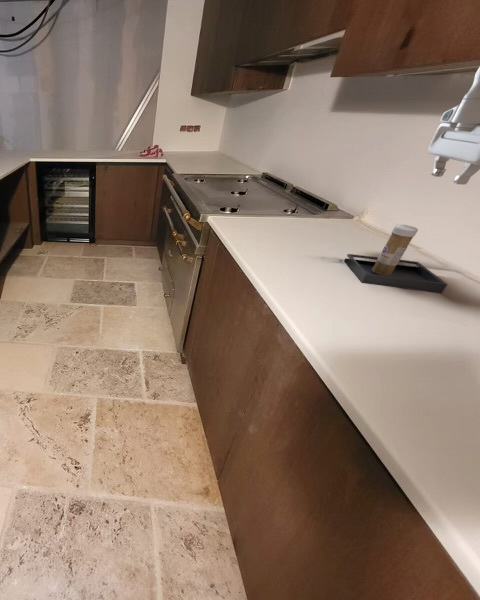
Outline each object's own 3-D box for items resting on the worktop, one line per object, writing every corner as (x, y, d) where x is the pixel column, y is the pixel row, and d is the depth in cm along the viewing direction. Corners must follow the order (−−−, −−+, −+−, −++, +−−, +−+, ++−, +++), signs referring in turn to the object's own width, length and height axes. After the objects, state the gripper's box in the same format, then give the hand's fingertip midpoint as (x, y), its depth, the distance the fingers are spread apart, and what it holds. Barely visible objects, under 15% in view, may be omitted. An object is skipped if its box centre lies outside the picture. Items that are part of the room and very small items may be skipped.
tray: (413, 269, 93) (418, 261, 92) (441, 293, 82) (447, 284, 80) (344, 261, 98) (347, 253, 97) (362, 282, 86) (366, 274, 85)
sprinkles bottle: (366, 269, 92) (390, 223, 85) (382, 269, 92) (408, 224, 85) (379, 276, 88) (405, 229, 81) (395, 276, 88) (423, 229, 81)
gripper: (542, 115, 61) (494, 190, 68) (471, 112, 78) (439, 172, 85) (498, 115, 63) (456, 188, 70) (438, 112, 79) (410, 172, 87)
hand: (447, 179), depth 78 cm, fingers open, 8 cm apart
